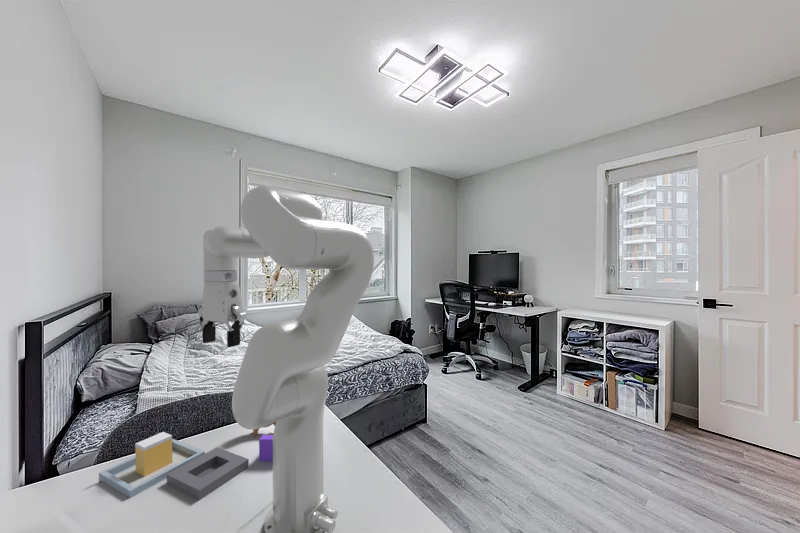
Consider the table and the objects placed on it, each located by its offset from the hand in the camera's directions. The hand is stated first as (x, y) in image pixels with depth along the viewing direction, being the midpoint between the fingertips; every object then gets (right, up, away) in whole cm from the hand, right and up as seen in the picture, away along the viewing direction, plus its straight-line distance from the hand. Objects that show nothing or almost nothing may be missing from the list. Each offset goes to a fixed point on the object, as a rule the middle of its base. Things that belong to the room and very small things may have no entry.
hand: (221, 343), depth 82 cm
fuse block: (+1, -30, -7) cm, 31 cm away
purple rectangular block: (+14, -31, +4) cm, 34 cm away
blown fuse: (-14, -30, -4) cm, 33 cm away
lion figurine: (+6, -31, +11) cm, 33 cm away
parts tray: (-14, -30, -4) cm, 34 cm away
